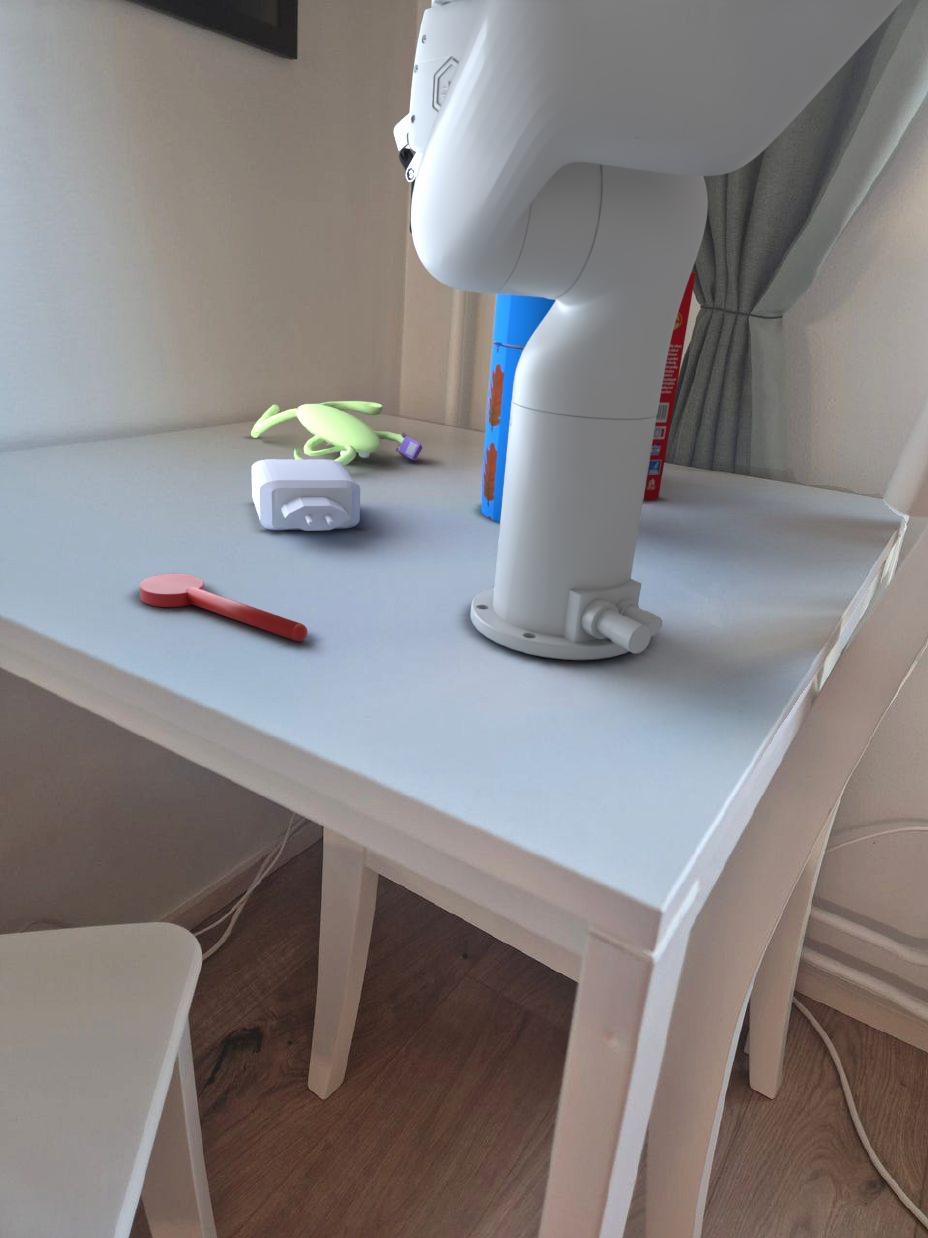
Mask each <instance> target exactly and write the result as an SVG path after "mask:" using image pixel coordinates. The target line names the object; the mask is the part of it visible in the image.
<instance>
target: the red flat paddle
mask: <svg viewBox="0 0 928 1238" xmlns="http://www.w3.org/2000/svg"><path fill="white" fill-rule="evenodd" d="M139 593H140V594H139V595H140V596H139V597H140V600H141V601H142V602H143V603H144V604H147V605H149V606H153V607H159V608H178V607H187V606H190V605H193V606H196V607H199V608H202V609H205V610H207V611H209V612H212V613H216V614H219V615H221V616H224V617H227V618H230V619H232V620H235V621H238V622H240V623H244V624H247V625H249V626H252V627H255V628H258V629H261V630H263V631H266V632H269V633H272V634H275V635H277V636H280V637H282V638H286V639H289V640H292V641H295V642H302V641H304V640H305V639H306V638H307V637H308V628H307V626H305V624H303V623H300V622H297V621H295V620H292V619H290V618H286V617H283V616H280V615H277V614H275V613H271V612H270V611H269V612H268V611H265V610H262V609H260V608H257V607H254V606H251V605H248V604H245V603H242V602H239V601H236V600H233V599H231V598H227V597H225V596H221V595H219V594H216V593H213V592H209V591H207V590H205V581H204V580H203V579H202V577H199V576H197V575H194V574H191V573H190V574H189V573H182V572H181V573H180V572H170V573H161V574H160V573H159V574H155V575H152V576H149V577H146V578H144V579H143V580H142V581H141V582H140V583H139Z"/></svg>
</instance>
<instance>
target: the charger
mask: <svg viewBox="0 0 928 1238" xmlns="http://www.w3.org/2000/svg"><path fill="white" fill-rule="evenodd" d="M334 460H335V459H321V458H320V459H314V458H313V459H312V458H311V459H310V458H309V459H307V458H306V459H305V458H302V459H295V458H294V459H293V458H292V459H291V458H289V459H287V458H284V459H282V458H279V459H278V458H269V459H268V458H267V459H260V460H257V461H255V462H254V463H253V464H252V465H251V496H252V500H253V504H254V507H255V511H256V513H257V516H258V519H259V523H260V525H261V526H262V527H263V528H265V529H268V530H271V531H305V532H307V531H308V532H309V531H311V532H313V531H331V530H347V529H350V528H353V527H356V526H357V525H358V524H359V523H360V519H361V518H360V517H361V510H360V509H361V487H360V485H359V483H358V482H357V481H356V480H355V479H354V477H353V476H352V474H351V473H350V472H349V471H348V470H347V469H346V467H345V466H343V465H342V464H341V463H340V462H338V461H334Z"/></svg>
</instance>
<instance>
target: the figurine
mask: <svg viewBox="0 0 928 1238" xmlns="http://www.w3.org/2000/svg"><path fill="white" fill-rule="evenodd" d="M344 410H349V411H355V412H358V413H362V414H365V415H368V416H378V415H380V414H381V413H382V411H383V405H382V404H380V403H378V402H373V401H362V400H339V401H325V402H321V403H304V404H301V405H300V406H298V407H297V408H290V409H287V410H285V411H282V412H281V408H280V407H279V406H278V405H277V404H272V405H271V406H270V407H269V408H268V409H267V410H266V411H265V412H264V413H263V414H262V415H261V416H260V417H259V419H258V420H257V421H256V423H255V424H254V425H253V427H252V429H251V432H250V435H251V437H252V438H258V437H259V436H260V435H261V434H263V433H265V432H266V431H267V430H269V429H270V428H272V427H274V426H276V425H278V424H280V423H283V422H286V421H289V420H291V419H295V418H297V419H298V421H299V422H300V423H301V425H302V426H303V427H304V428H305V429H306V430H307V431H308V432H309V433H311V435H313V437H311V438H309V439H308V440H307V441H306V443H305V444H304V446H303V453H304V455H306V456H309V457H319V456H324V455H328V454H329V455H330V454H334V453H340V456H338V457H337V458H335V459H333V460H334V461H338V462H340V463H341V464H342V465H343V466H344V467H345V466H346V465H348V464H350V463H351V462H352V461H354V460H355V458H356V456H357V453H358V456H359V457H360V458H363V459H369V458H370V455H371V453H373V452H377V451H378V450H380V448H381V442H382V440H387V441H395V442H398V443H400V446H399V447H398V446H397V447H396V448H395V452H397V453H398V454H400V455H401V456H403V457H404V458H408V459H410V460H412V461H416V460H417V459H418V457H419V455H420V453H421V452H422V449H423V446H422V444H421V443H420V442H418V441H417V440H414V438H411V437H410V436H408V435H407V434H406V433H404V432H402V433H401V434H399V433H396V432H391V431H380V430H374V429H373V428H372V427H371V426H370V425H368V424H367V422H365V421H364V420H362V419H360V418H358V417H357V416H355V415H353V414H351V413H350V412H347V411H344ZM324 442H325V443H327V444H326V446H328V445H332V446H333V447H329V448H324V449H319V450H314V449H315V448H316V447H317V446H318V445H320V444H322V443H324ZM293 457H294V459H303V457H302V456H301V453H300V448H298V447H295V448H294V451H293Z"/></svg>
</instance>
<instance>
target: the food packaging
mask: <svg viewBox="0 0 928 1238" xmlns="http://www.w3.org/2000/svg"><path fill="white" fill-rule="evenodd" d="M696 275H697V273H696V272H691V274H690V277H689V280H688V283H687V286H686V289H685V292H684V295H683V298H682V301H681V304H680V307H679V311H678V314H677V318H676V322H675V325H674V329H673V333H672V337H671V342H670V346H669V351H668V355H667V361H666V366H665V372H664V377H663V383H662V389H661V395H660V401H659V407H658V414H657V416H656V423H655V429H654V435H653V442H652V448H651V454H650V461H649V467H648V473H647V479H646V486H645V492H644V498H643V501H647V500H649V501H650V500H659V496H660V490H661V485H662V479H663V473H664V467H665V460H666V456H667V455H666V454H667V449H668V442H669V437H670V431H671V425H672V420H673V419H672V418H673V412H674V408H675V407H674V406H675V400H676V394H677V389H678V382H679V377H680V371H681V366H682V358H683V352H684V347H685V341H686V335H687V329H688V322H689V317H690V311H691V303H692V298H693V292H694V285H695V280H696Z"/></svg>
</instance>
